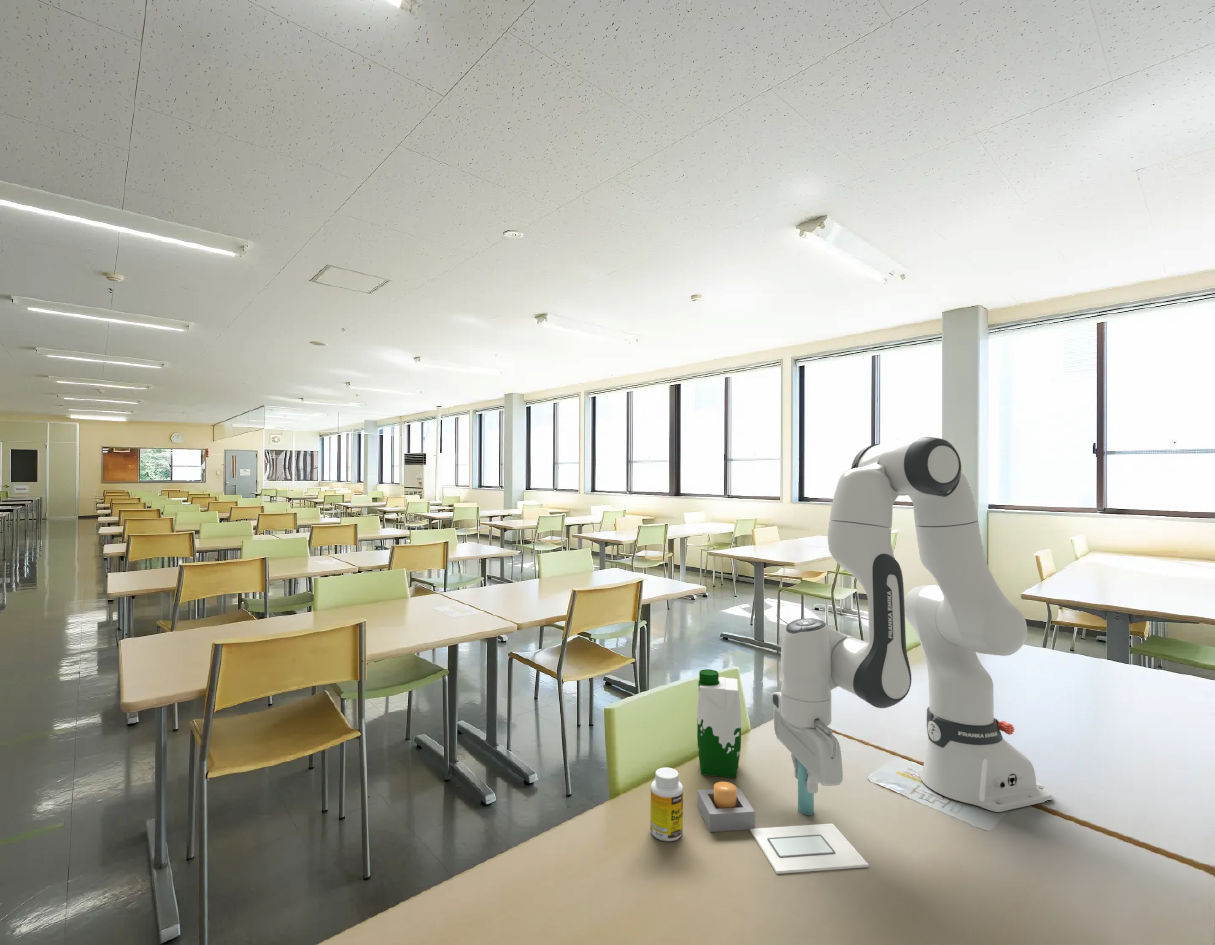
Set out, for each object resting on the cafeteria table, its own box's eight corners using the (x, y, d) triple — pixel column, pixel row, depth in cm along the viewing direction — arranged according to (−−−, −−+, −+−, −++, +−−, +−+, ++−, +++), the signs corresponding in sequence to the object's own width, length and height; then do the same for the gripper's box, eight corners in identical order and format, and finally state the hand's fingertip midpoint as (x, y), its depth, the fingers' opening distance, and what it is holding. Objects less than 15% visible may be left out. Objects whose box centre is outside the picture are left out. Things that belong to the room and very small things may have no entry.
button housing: (738, 803, 107) (738, 787, 108) (754, 829, 100) (754, 811, 100) (697, 806, 106) (697, 789, 107) (709, 831, 99) (710, 814, 99)
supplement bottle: (672, 847, 94) (673, 784, 95) (644, 835, 98) (644, 774, 98) (688, 831, 99) (689, 770, 99) (660, 820, 102) (661, 761, 102)
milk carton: (698, 756, 126) (698, 665, 127) (740, 761, 124) (740, 668, 125) (696, 776, 118) (696, 678, 118) (741, 781, 116) (741, 681, 116)
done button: (732, 799, 105) (732, 781, 105) (739, 812, 101) (739, 792, 101) (710, 801, 105) (711, 782, 105) (717, 813, 101) (717, 793, 101)
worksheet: (832, 825, 101) (832, 822, 101) (868, 867, 90) (868, 863, 90) (750, 831, 99) (750, 828, 99) (776, 873, 88) (776, 870, 88)
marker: (809, 806, 107) (809, 750, 107) (816, 814, 104) (816, 757, 104) (795, 807, 107) (795, 751, 107) (802, 815, 104) (802, 758, 104)
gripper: (852, 732, 96) (852, 816, 96) (797, 689, 116) (797, 758, 116) (816, 734, 95) (816, 818, 95) (767, 690, 115) (767, 760, 115)
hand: (805, 785), depth 105 cm, fingers closed on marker, 3 cm apart
